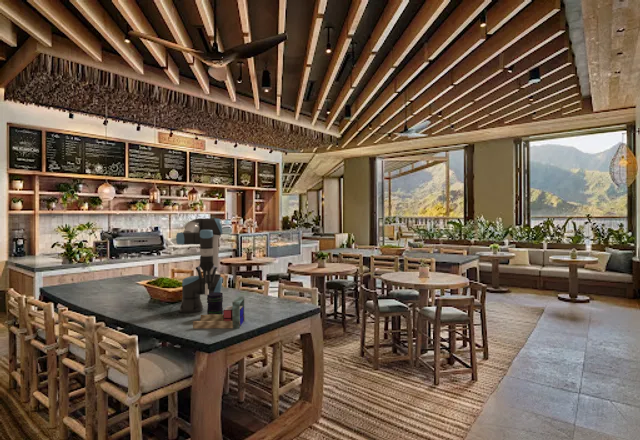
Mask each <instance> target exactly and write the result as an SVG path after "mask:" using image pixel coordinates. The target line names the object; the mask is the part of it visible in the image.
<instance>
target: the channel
mask: <svg viewBox="0 0 640 440" xmlns="http://www.w3.org/2000/svg"><path fill="white" fill-rule="evenodd" d="M231 306H232V310H233V321H223V319H224V318H223V315H207V314H200V320H194V321H192V329H241V326H240V306H243V322H245V296H237V297H236V298H235V299H234V300H233V301H232V304H231Z"/></svg>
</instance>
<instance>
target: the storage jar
mask: <svg viewBox="0 0 640 440" xmlns="http://www.w3.org/2000/svg"><path fill="white" fill-rule="evenodd" d="M206 297H207V299H206V300H207V301H206V303H207V309H206V310H207V311H206V312H207V313H206V315H223V310H224V309H223V302H224V296H223V292H213V293H209V294H208V295H206Z"/></svg>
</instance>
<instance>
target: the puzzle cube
mask: <svg viewBox="0 0 640 440" xmlns="http://www.w3.org/2000/svg"><path fill="white" fill-rule="evenodd" d="M223 318H224V319H223V321H233V310H232V305H227V306H226V307H225V308H224V309H223ZM243 323H244V321H243V306H240V327H241V326H242V324H243Z"/></svg>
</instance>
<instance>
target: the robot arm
mask: <svg viewBox="0 0 640 440" xmlns="http://www.w3.org/2000/svg"><path fill="white" fill-rule="evenodd" d="M223 234H224V232H223V226H222V219H221V218H215V217H209V218H206V217H205V218H204V217H203V218H199V217H198V218H194V219H192V220H190V221H188V222H187V223H186V224H185V226H184V230H183V231H182V232H177V233H176V236H175V240H176V244H177V245H182V246H183V245H199V255H200V256H199V265H198V266H196V267H195V271H196V272H197V275H191V276H187V277H184V278H183V279H182V284H181V286H182V288H181V289H182V291H181V292H182V294H181V295H182V301H181V304H180V305H179V312H180V313H183V314H189V313H190V314H192V313H199V312H201V311H203V309H204V306H203V302H202V300H201V295H204V296H207V295H208V294H209V293H213V292H220V293H222V288H223V287H222V286H223V279H224V278H223V277H222V276H221V273H220V272H219V239H221V236H222V235H223ZM201 270H202V271H201Z"/></svg>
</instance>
